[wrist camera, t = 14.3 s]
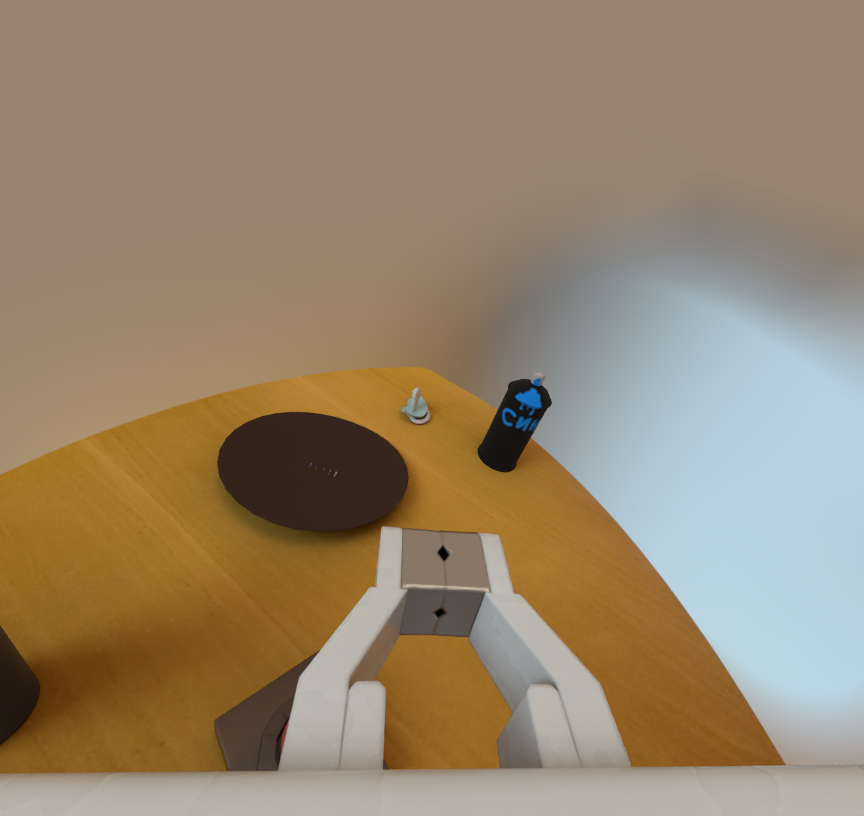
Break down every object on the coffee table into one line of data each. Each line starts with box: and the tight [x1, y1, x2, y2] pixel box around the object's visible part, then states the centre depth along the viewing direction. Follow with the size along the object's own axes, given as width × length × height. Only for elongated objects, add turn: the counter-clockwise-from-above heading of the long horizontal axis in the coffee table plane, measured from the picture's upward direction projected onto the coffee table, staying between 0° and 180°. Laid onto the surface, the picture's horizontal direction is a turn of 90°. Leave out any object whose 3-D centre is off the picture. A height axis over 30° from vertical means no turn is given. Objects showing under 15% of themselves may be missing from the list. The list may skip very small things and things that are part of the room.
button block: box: [214, 650, 389, 771], centre depth 31 cm, size 12×10×4 cm
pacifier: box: [401, 388, 431, 424], centre depth 77 cm, size 7×6×6 cm
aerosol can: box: [478, 371, 552, 472], centre depth 70 cm, size 8×8×20 cm
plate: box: [217, 412, 408, 531], centre depth 58 cm, size 28×28×4 cm
